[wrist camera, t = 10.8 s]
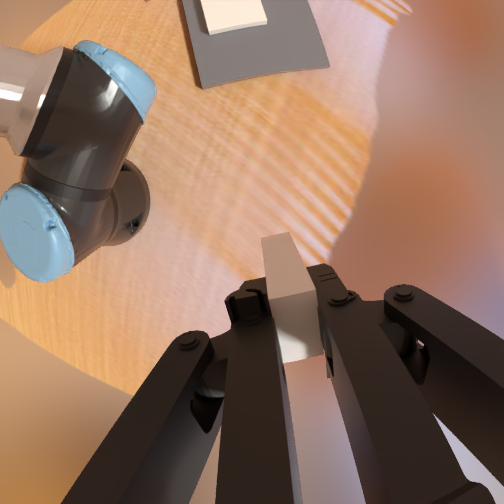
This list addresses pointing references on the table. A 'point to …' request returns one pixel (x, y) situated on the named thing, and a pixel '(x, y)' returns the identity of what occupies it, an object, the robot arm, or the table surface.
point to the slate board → (257, 44)
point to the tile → (232, 14)
